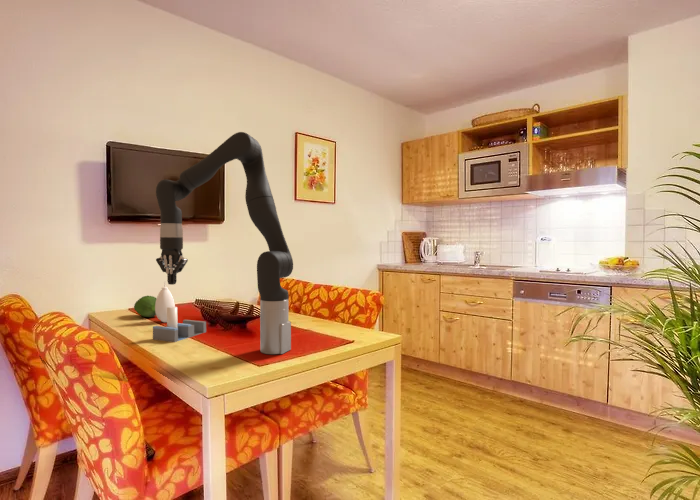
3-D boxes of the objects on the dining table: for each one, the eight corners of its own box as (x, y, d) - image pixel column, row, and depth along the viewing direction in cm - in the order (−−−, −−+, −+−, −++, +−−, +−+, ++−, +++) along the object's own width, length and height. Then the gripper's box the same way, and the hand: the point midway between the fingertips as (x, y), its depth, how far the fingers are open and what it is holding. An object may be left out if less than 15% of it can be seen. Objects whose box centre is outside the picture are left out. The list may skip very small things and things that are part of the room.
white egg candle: (178, 321, 177) (177, 281, 176) (160, 324, 171) (159, 282, 170) (169, 319, 182) (169, 280, 181) (152, 322, 176) (151, 281, 175)
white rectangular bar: (179, 337, 146) (179, 307, 145) (172, 339, 142) (172, 308, 142) (172, 336, 147) (172, 306, 147) (164, 338, 144) (164, 307, 143)
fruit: (128, 316, 188) (128, 295, 188) (149, 313, 196) (149, 292, 196) (144, 320, 179) (144, 298, 179) (165, 316, 187) (165, 295, 187)
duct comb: (206, 334, 154) (206, 320, 154) (174, 344, 139) (174, 328, 139) (185, 332, 158) (185, 318, 158) (152, 342, 143) (152, 326, 143)
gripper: (193, 236, 145) (194, 284, 145) (165, 236, 149) (165, 282, 150) (178, 236, 138) (178, 286, 138) (149, 236, 142) (149, 284, 143)
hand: (171, 284), depth 144 cm, fingers closed
